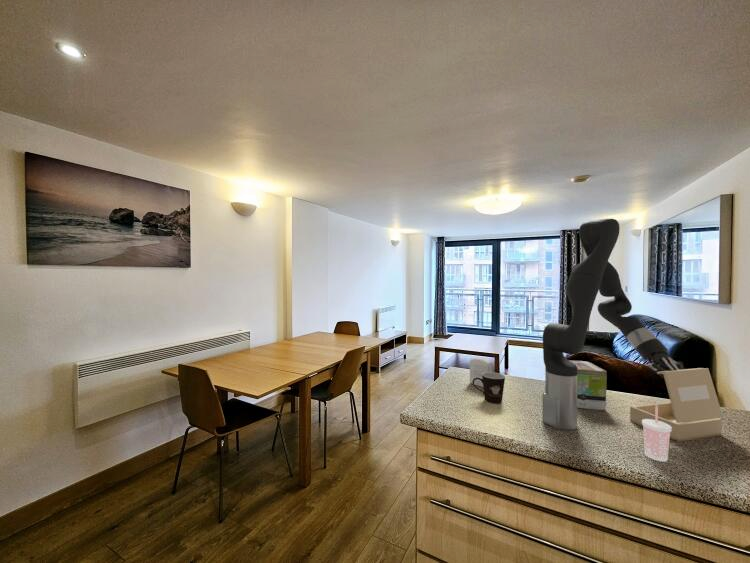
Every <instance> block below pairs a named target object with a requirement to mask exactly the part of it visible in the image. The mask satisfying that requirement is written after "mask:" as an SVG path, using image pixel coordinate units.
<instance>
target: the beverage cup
mask: <svg viewBox="0 0 750 563" xmlns="http://www.w3.org/2000/svg"><path fill="white" fill-rule="evenodd" d="M642 425H643V426H642V427H643V428H642V429H643V430H642V431H643V432H642V433H643V444H644V445H643V446H644V455H645V456H647V457H648V458H649V459H651V460H654V461H658V462H667V461H668V459H669V458H668V457H669V448H670V432H671V431H672V430H671V429H672V427H671V426H670V425H668V424H666V423H664V422H661V421H658V406H657V405H656V406H655V420H652V419H643V420H642Z"/></svg>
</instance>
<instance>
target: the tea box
mask: <svg viewBox="0 0 750 563" xmlns="http://www.w3.org/2000/svg"><path fill="white" fill-rule="evenodd" d="M568 360H569V359H568ZM569 361H570V362H572V363H574V364H575V365H576V366H577V369H578V374H577V409H587V410H597V411H598V410H599V411H605V410H606V409H607V378H608V377H607V373H608V372H607V370H605V369H603V368H601V367H599V366H597V365H595V364H594V363H592V362H590V361H583V360H569Z"/></svg>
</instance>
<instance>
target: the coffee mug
mask: <svg viewBox="0 0 750 563" xmlns="http://www.w3.org/2000/svg"><path fill="white" fill-rule="evenodd" d="M476 379H479V380H481V382H482V383H483V387H482V388H483V390H482V389H480V388H479V387H478V386H477V385H475V384H474V381H475V380H476ZM505 380H506V376H505V374H503V373H500V372H499V373H498V372H495V371H492V372H485V373H483V374H482V379H480V378H475V379H473V382H472V383H473V384H472V383H471V384H472V385H473V386H474V388H475V389H477V390H478V391H479V392H480V393H482V394H483V396H484V401H485V402H487V403H490V404H496V405H499V404H501V403H502V402H503V396H504V389H505V388H504V387H505Z"/></svg>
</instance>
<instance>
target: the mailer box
mask: <svg viewBox="0 0 750 563" xmlns="http://www.w3.org/2000/svg"><path fill="white" fill-rule="evenodd" d="M656 405H657V406H658V421H661V422H664V423H666V424H668V425H670V426H671V427H672V429H671V430H672V431H671V432H670V439H671V440H673V441H674V442H675V441H676V442H677V443H679V442H686V441H693V440H698V439H704V438H705V439H706V438H713V437H718V436H722V430H723V429H722V425H723V423H722V421H723V420H722V418H721V417H719V418H712V419H704V420H697V421H689V422H682V423H676V420H675V416H674V412H673V408H672V404H671V401H668V402H667V401H666V402H659V403H650V404H641V405H631V406H630V407H629V408H630V409H629V410H630V411H629V413H630V414H629V421H630V422H631V423H634V424H636V425H638V426H641V427H643V425H642V420H643V419H652V420H655V406H656ZM670 439H669V440H670Z"/></svg>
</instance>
